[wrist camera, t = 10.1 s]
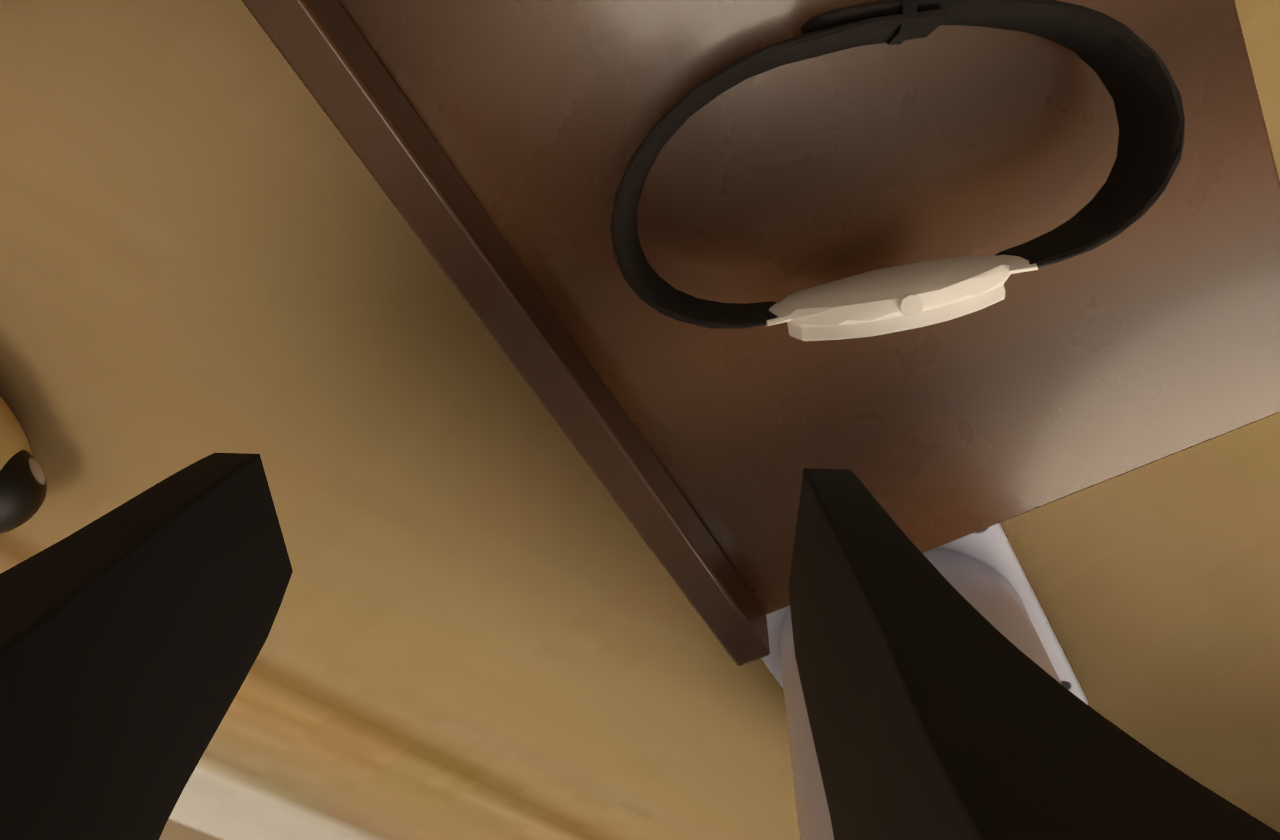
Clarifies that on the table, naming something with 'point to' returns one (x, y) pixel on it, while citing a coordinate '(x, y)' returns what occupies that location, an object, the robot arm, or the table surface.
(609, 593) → the table surface
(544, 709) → the table surface
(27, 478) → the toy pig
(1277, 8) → the table surface
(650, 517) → the shelf rack
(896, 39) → the watch
